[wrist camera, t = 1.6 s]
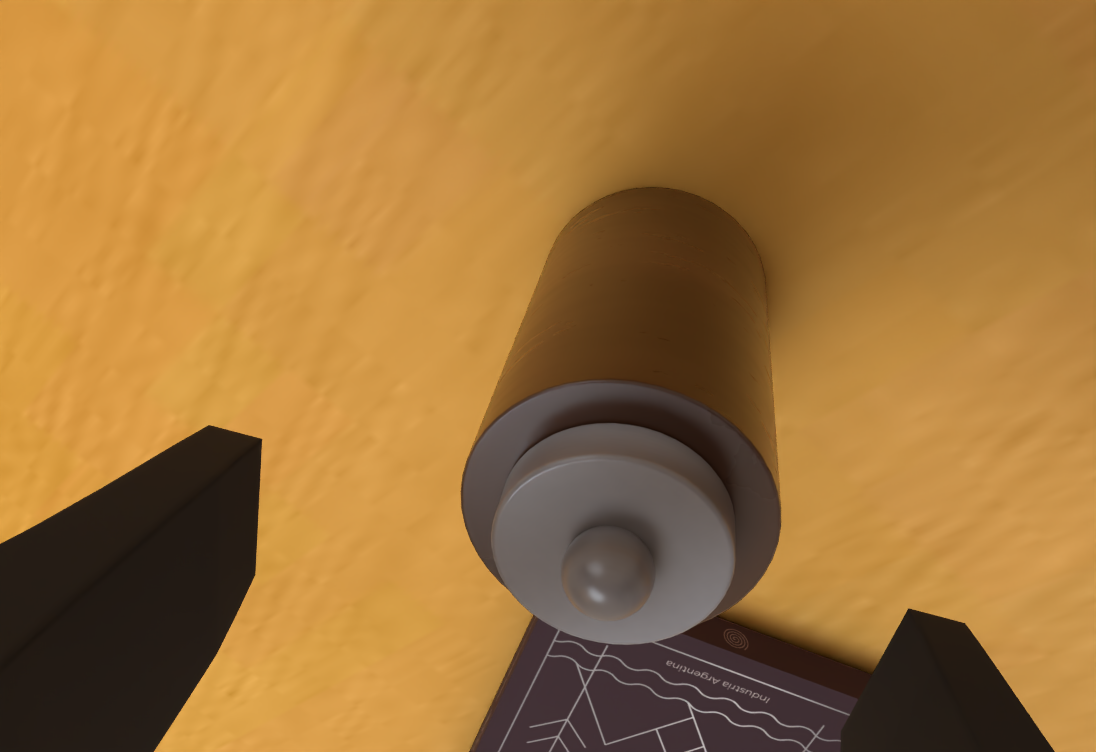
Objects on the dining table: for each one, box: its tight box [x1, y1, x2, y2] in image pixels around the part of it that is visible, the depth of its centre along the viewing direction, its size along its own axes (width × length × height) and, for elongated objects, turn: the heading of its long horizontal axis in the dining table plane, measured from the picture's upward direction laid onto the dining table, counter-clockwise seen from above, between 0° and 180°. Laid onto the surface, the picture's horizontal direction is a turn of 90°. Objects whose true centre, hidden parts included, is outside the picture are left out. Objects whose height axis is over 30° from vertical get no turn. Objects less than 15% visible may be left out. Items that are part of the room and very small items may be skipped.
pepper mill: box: [461, 187, 781, 645], centre depth 16 cm, size 4×4×9 cm
